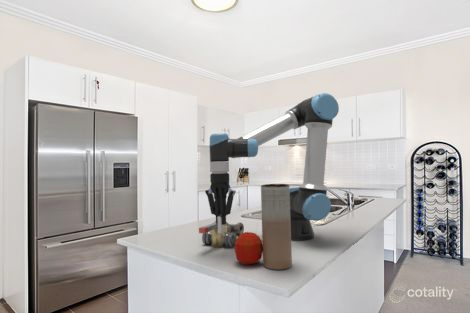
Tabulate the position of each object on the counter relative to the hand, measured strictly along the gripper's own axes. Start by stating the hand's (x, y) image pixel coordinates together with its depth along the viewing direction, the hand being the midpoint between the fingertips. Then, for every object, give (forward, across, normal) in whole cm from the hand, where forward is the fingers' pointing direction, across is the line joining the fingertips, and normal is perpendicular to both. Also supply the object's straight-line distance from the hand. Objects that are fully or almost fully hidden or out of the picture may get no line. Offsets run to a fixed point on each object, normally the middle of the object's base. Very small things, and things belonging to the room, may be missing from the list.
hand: (221, 232), depth 116 cm
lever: (0, +7, -4) cm, 8 cm away
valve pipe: (+9, +7, -10) cm, 15 cm away
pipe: (+9, +13, -25) cm, 30 cm away
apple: (+9, -14, +5) cm, 17 cm away
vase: (+9, -24, +3) cm, 26 cm away
